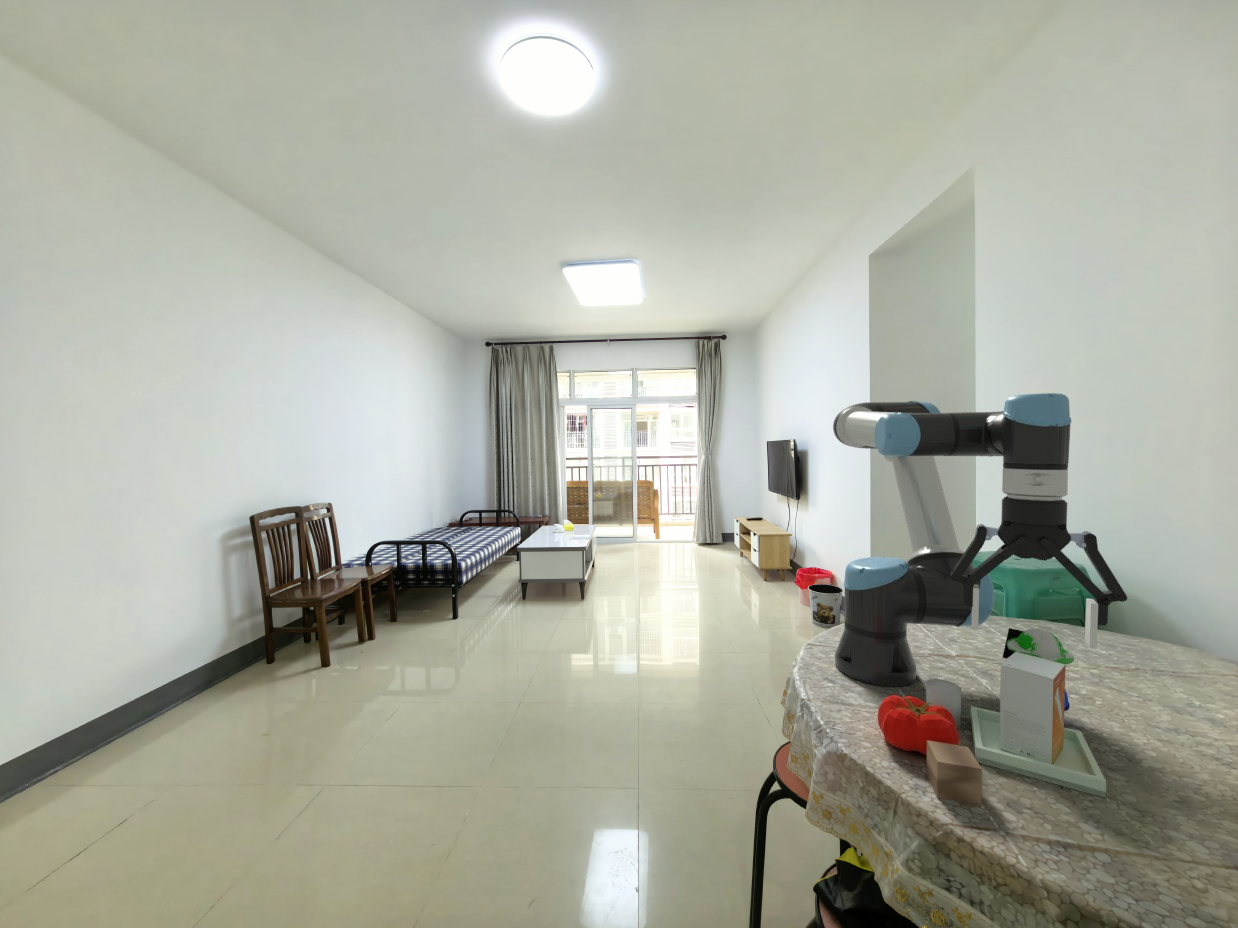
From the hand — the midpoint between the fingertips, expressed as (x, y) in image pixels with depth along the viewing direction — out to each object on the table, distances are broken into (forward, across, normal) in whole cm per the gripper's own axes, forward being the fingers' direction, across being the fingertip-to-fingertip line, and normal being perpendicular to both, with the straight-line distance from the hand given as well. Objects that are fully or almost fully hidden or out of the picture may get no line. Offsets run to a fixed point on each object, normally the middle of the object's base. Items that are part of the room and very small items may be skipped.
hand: (1029, 635), depth 74 cm
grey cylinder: (+18, -11, +3) cm, 21 cm away
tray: (+18, 0, -1) cm, 18 cm away
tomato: (+18, -14, -8) cm, 24 cm away
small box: (+17, 0, -1) cm, 17 cm away
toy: (+18, +3, +14) cm, 24 cm away
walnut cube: (+18, -10, -17) cm, 26 cm away
